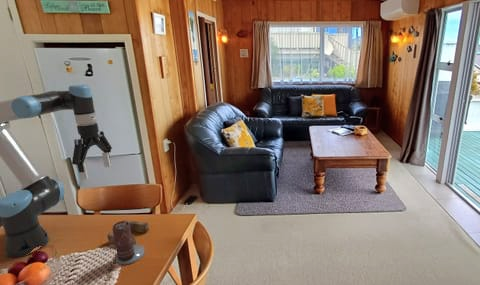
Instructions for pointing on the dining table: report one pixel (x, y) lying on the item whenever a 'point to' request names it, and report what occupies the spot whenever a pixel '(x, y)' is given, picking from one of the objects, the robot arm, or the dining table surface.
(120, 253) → the can
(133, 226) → the rack
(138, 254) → the coaster
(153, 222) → the dining table surface
